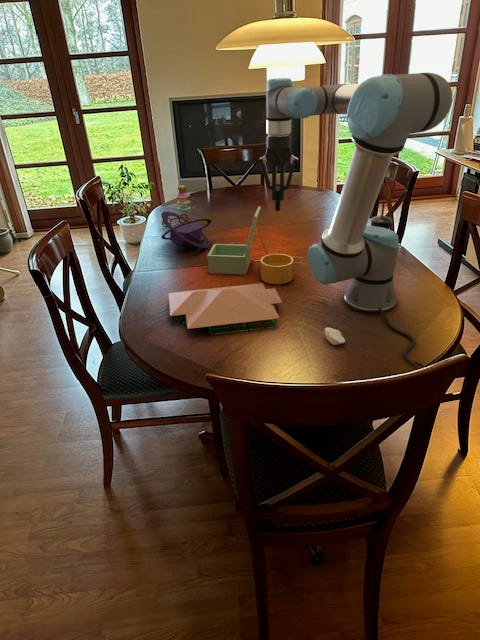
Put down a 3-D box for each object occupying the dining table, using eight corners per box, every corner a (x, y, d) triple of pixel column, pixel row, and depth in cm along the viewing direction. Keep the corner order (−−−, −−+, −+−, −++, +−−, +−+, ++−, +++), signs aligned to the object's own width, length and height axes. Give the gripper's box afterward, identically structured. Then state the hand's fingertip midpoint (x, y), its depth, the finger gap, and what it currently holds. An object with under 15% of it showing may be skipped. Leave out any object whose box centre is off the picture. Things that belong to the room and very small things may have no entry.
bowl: (291, 286, 148) (292, 267, 145) (259, 285, 150) (258, 265, 146) (293, 272, 157) (294, 254, 154) (262, 271, 159) (262, 253, 156)
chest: (208, 273, 159) (207, 255, 156) (215, 260, 169) (214, 243, 166) (245, 274, 157) (245, 256, 154) (250, 261, 167) (250, 244, 164)
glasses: (187, 222, 210) (186, 212, 207) (200, 230, 200) (200, 219, 198) (162, 228, 204) (160, 218, 201) (174, 236, 194) (173, 225, 192)
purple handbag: (213, 256, 173) (209, 192, 160) (159, 259, 172) (150, 195, 159) (213, 236, 192) (208, 177, 179) (164, 239, 191) (156, 180, 178)
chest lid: (254, 216, 146) (256, 217, 146) (258, 206, 156) (260, 206, 156) (244, 255, 154) (246, 256, 154) (249, 243, 163) (251, 243, 163)
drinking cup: (388, 258, 165) (396, 205, 155) (367, 257, 167) (373, 204, 156) (386, 250, 172) (394, 199, 161) (366, 250, 173) (372, 198, 163)
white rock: (319, 338, 121) (321, 325, 120) (336, 339, 122) (339, 325, 121) (330, 348, 114) (333, 334, 113) (348, 348, 116) (351, 334, 114)
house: (288, 326, 126) (289, 301, 122) (172, 340, 122) (168, 315, 118) (270, 291, 145) (270, 268, 141) (170, 302, 141) (167, 278, 137)
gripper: (300, 132, 140) (297, 206, 152) (259, 133, 142) (260, 206, 154) (299, 136, 133) (296, 213, 145) (256, 137, 135) (257, 212, 147)
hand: (277, 209), depth 150 cm, fingers closed
